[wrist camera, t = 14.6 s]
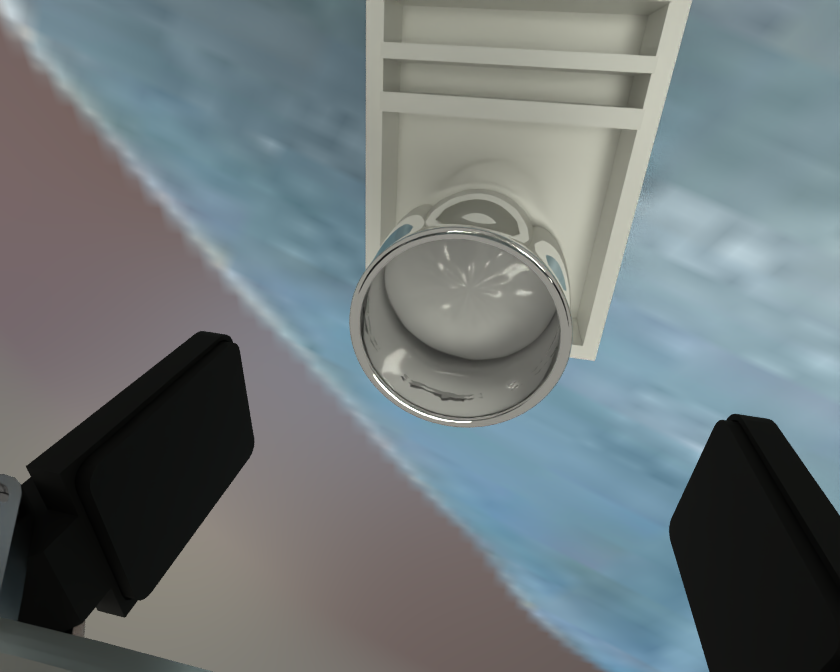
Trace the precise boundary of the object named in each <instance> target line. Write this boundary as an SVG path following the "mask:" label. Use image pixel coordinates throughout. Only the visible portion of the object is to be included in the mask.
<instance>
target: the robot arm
mask: <svg viewBox="0 0 840 672" xmlns="http://www.w3.org/2000/svg"><path fill="white" fill-rule="evenodd" d="M253 448H254V435H253V429H252V423H251V417H250V411H249V405H248V398H247V393H246V386H245V380H244V374H243V368H242V362H241V355H240V350H239V347H238V345H237V344H236V343H233V341H232V339H231V337H230V336H228V335H225V334H218V333H212V332H205V331H200V332H198V333H196V334H195V335H193V336H192V337H191V338H189V339H188V340H187V341H186V342H184V343H183V344H182V345H181V346H179V347H178V348H177V349H175V350H174V351H173V352H172V353H170V354H169V355H168V356H166V357H165V358H164V359H163V360H161V361H160V362H159V363H157V364H156V365H155V366H154V367H152V368H151V369H150V370H149V371H147V372H146V373H145V374H143V375H142V376H141V377H140V378H138V379H137V380H136V381H134V382H133V383H132V384H131V385H130V386H128V387H127V388H125V389H124V390H123V391H122V392H120V393H119V394H118V395H117V396H115V397H114V398H113V399H112V400H110V401H109V402H108V403H106V404H105V405H104V406H102V407H101V408H100V409H99V410H98V411H96V412H95V413H93V414H92V415H91V416H90V417H88V418H87V419H86V420H85V421H83V422H82V423H81V424H80V425H78V426H77V427H76V428H74V429H73V430H72V431H70V432H69V433H68V434H67V435H65V436H64V437H63V438H62V439H60V440H59V441H58V442H57V443H55V444H54V445H53V446H51V447H50V448H49V449H47V450H46V451H45V452H44V453H42V454H41V455H40V456H39V457H37V458H36V459H35V460H33V461H32V462H31V463H30V464H28V465H27V466H26V468H27V470H28V471H29V473H30V476H31V477H30V478H29V479H28V480H27V481H25V482H24V483H23V484H22V485H21V484H20V483H19V482H18V480H17V479H16V478H15V477H11V476H8V475H5V474H0V672H213V671H208V670H205V669H201V668H198V667H194V666H190V665H186V664H183V663H179V662H175V661H171V660H168V659H164V658H160V657H156V656H153V655H149V654H145V653H141V652H137V651H134V650H130V649H126V648H122V647H119V646H115V645H111V644H108V643H104V642H100V641H96V640H92V639H88V638H84V633H85V619H86V618H87V617H88V616H89V615H90V613H91V612H92V611H93V610H94V608H95V607H96V608H97V610H98V611H102V612H105V613H109V614H113V615H117V616H121V617H126V616H127V614H128V613H129V612H130V610H131V609H132V608H133V606H134V605H135V604H136V602H137V601H138V600H143V599H145V598H146V597H147V596H148V595H149V594H150V593H151V592H152V591H153V589H154V588H155V587H156V585H157V584H158V582H159V581H160V580H161V578H162V577H163V576H164V574H165V573H166V572H167V570H168V569H169V568H170V566H171V565H172V563H173V562H174V561H175V559H176V558H177V556H178V555H179V554H180V552H181V551H182V550H183V548H184V547H185V545H186V544H187V543H188V541H189V540H190V539H191V537H192V536H193V534H194V533H195V532H196V530H197V529H198V528H199V526H200V525H201V523H202V522H203V521H204V519H205V518H206V517H207V515H208V514H209V512H210V511H211V510H212V508H213V507H214V506H215V504H216V503H217V502H218V500H219V499H220V497H221V496H222V495H223V493H224V492H225V491H226V489H227V488H228V487H229V485H230V484H231V482H232V481H233V480H234V478H235V477H236V475H237V474H238V473H239V471H240V470H241V468H242V467H243V466H244V465H245V463H246V462H247V460H248V459H249V458H250V456H251V454H252V451H253ZM669 535H670V541H671V544H672V547H673V551H674V554H675V557H676V561H677V564H678V568H679V571H680V574H681V578H682V581H683V584H684V588H685V591H686V594H687V598H688V601H689V604H690V608H691V611H692V615H693V618H694V621H695V625H696V628H697V631H698V635H699V638H700V641H701V645H702V648H703V651H704V655H705V658H706V662H707V665H708V668H709V672H840V515H839V514H838V512H837V511H836V510H835V508H834V507H833V505H832V504H831V502H830V501H829V500H828V498H827V497H826V495H825V494H824V492H823V491H822V489H821V488H820V487H819V485H818V484H817V482H816V481H815V479H814V478H813V477H812V475H811V474H810V472H809V471H808V469H807V468H806V466H805V465H804V464H803V462H802V461H801V459H800V458H799V456H798V455H797V454H796V452H795V451H794V449H793V448H792V446H791V445H790V443H789V442H788V441H787V439H786V438H785V436H784V435H783V433H782V432H781V431H780V429H779V428H778V426H777V425H776V424H775V423H774V422H773V421H772V420H770V419H766V418H759V417H753V416H746V415H740V414H732V415H731V416H729V417H728V418H727V420H719V421H718V422H717V423H716V424H715V426H714V428H713V430H712V432H711V435H710V437H709V439H708V441H707V443H706V445H705V448H704V450H703V452H702V454H701V456H700V458H699V460H698V463H697V465H696V467H695V469H694V471H693V473H692V475H691V478H690V480H689V482H688V484H687V486H686V488H685V490H684V493H683V495H682V497H681V499H680V501H679V503H678V505H677V508H676V510H675V512H674V514H673V516H672V518H671V521H670V526H669Z"/></svg>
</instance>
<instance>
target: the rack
mask: <svg viewBox="0 0 840 672" xmlns="http://www.w3.org/2000/svg"><path fill="white" fill-rule="evenodd" d="M691 3H692V0H366V269H367V267H368V266H369V265H370V264H371V262H372V260H373V259H374V257H375V255H376V253H377V252H378V250H379V248H380V247H381V245H382V244H383V242H384V240H385V239H386V238H387V236H388V235H389V234H390V232H391V231H392V230H393V228H394V227H395V226H396V225H397V223H398V222H399V221H400V220H401V219H402V218H403V217H404V216H405V215H406V214H407V213H408V212H409V211H410V210H411V209H413V208H414V207H415V206H416V205H417V204H418V203H420V202H421V201H422V200H424V199H425V198H427V197H428V196H430V195H432V194H434V193H436V192H438V191H440V190H442V189H443V187H444V186H445V184H446V183H447V182H448V180H449V179H450V178H451V177H452V176H453V175H454V174H456V173H457V172H458V171H460V170H461V169H463V168H465V167H466V166H469V165H471V164H474V163H477V162H482V161H499V162H504V163H507V164H510V165H513V166H515V167H517V168H518V169H520V170H521V171H523V172H524V173H525V174H526V175H527V176H528V177H529V178H530V179H531V180H532V181H533V182H534V184H535V185H536V187H537V189H538V191H539V193H540V195H541V198H542V201H543V206H544V215H545V217H546V218H547V219H548V220H549V222H550V223H551V225H552V226H553V228H554V230H555V232H556V234H557V236H558V238H559V241H560V244H561V246H562V249H563V252H564V255H565V258H566V262H567V267H568V273H569V280H570V290H571V318H572V325H573V340H572V348H571V353H570V357H571V358H578V359H585V360H592V361H595V358H596V355H597V351H598V347H599V343H600V340H601V336H602V332H603V329H604V325H605V321H606V318H607V314H608V310H609V306H610V303H611V299H612V295H613V292H614V288H615V284H616V281H617V277H618V273H619V269H620V266H621V262H622V258H623V255H624V251H625V247H626V244H627V240H628V236H629V232H630V229H631V225H632V221H633V218H634V214H635V210H636V207H637V203H638V199H639V195H640V192H641V188H642V184H643V181H644V177H645V173H646V170H647V166H648V162H649V158H650V155H651V151H652V147H653V144H654V140H655V136H656V133H657V129H658V125H659V121H660V118H661V114H662V110H663V107H664V103H665V99H666V96H667V92H668V88H669V84H670V81H671V77H672V73H673V70H674V66H675V62H676V59H677V55H678V51H679V47H680V44H681V40H682V36H683V33H684V29H685V25H686V22H687V18H688V14H689V10H690V7H691Z"/></svg>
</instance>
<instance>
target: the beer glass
mask: <svg viewBox="0 0 840 672" xmlns="http://www.w3.org/2000/svg"><path fill="white" fill-rule="evenodd" d="M349 325H350V335H351V341H352V345H353V348H354V351H355V354H356V357H357V359H358V361H359V363H360V365H361V367H362V369H363V371H364V372H365V374H366V375H367V377H368V378H369V379H370V381H371V382H372V383H373V385H374V386H375V387H376V388H377V389H378V390H379V391H380V392H381V393H382V394H383V395H384V396H385V397H386V398H388V399H389V400H390V401H391V402H393V403H394V404H395V405H397V406H398V407H400V408H401V409H403V410H405V411H406V412H408V413H410V414H412V415H414V416H416V417H419V418H421V419H424V420H427V421H430V422H433V423H437V424H441V425H446V426H453V427H482V426H489V425H494V424H498V423H501V422H505V421H508V420H510V419H513V418H515V417H517V416H519V415H521V414H523V413H525V412H527V411H528V410H530V409H531V408H533V407H534V406H536V405H537V404H538V403H539V402H541V401H542V400H543V399H544V398H545V397H546V396H547V395H548V394H549V393H550V392H551V391H552V389H553V388H554V387H555V385H556V384H557V383H558V381H559V379H560V378H561V376H562V374H563V372H564V370H565V368H566V365H567V363H568V360H569V357H570V353H571V348H572V340H573V325H572V318H571V290H570V280H569V273H568V267H567V262H566V258H565V255H564V252H563V249H562V246H561V244H560V241H559V238H558V236H557V234H556V232H555V230H554V228H553V226H552V225H551V223H550V222H549V220H548V219H547V218H546V217H545V215H544V206H543V201H542V198H541V195H540V193H539V191H538V189H537V187H536V185H535V184H534V182H533V181H532V180H531V179H530V178H529V177H528V176H527V175H526V174H525V173H524V172H523V171H521V170H520V169H518V168H517V167H515V166H513V165H510V164H507V163H504V162H499V161H482V162H477V163H474V164H471V165H469V166H466V167H465V168H463V169H461V170H460V171H458V172H457V173H456V174H454V175H453V176H452V177H451V178H450V179H449V180H448V182H447V183H446V184H445V186H444V187H443V189H442V190H440V191H438V192H436V193H434V194H432V195H430V196H428V197H427V198H425V199H424V200H422V201H421V202H420V203H418V204H417V205H416V206H415V207H414V208H413V209H411V210H410V211H409V212H408V213H407V214H406V215H405V216H404V217H403V218H402V219H401V220H400V221H399V222H398V223H397V225H396V226H395V227H394V228H393V230H392V231H391V232H390V234H389V235H388V236H387V238H386V239H385V240H384V242H383V244H382V245H381V247H380V248H379V250H378V252H377V253H376V255H375V257H374V259H373V260H372V262H371V264H370V265H369V266H368V267H367V269H366V270H365V272H364V273H363V275H362V276H361V278H360V280H359V282H358V284H357V286H356V289H355V292H354V295H353V298H352V302H351V308H350V318H349Z"/></svg>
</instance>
